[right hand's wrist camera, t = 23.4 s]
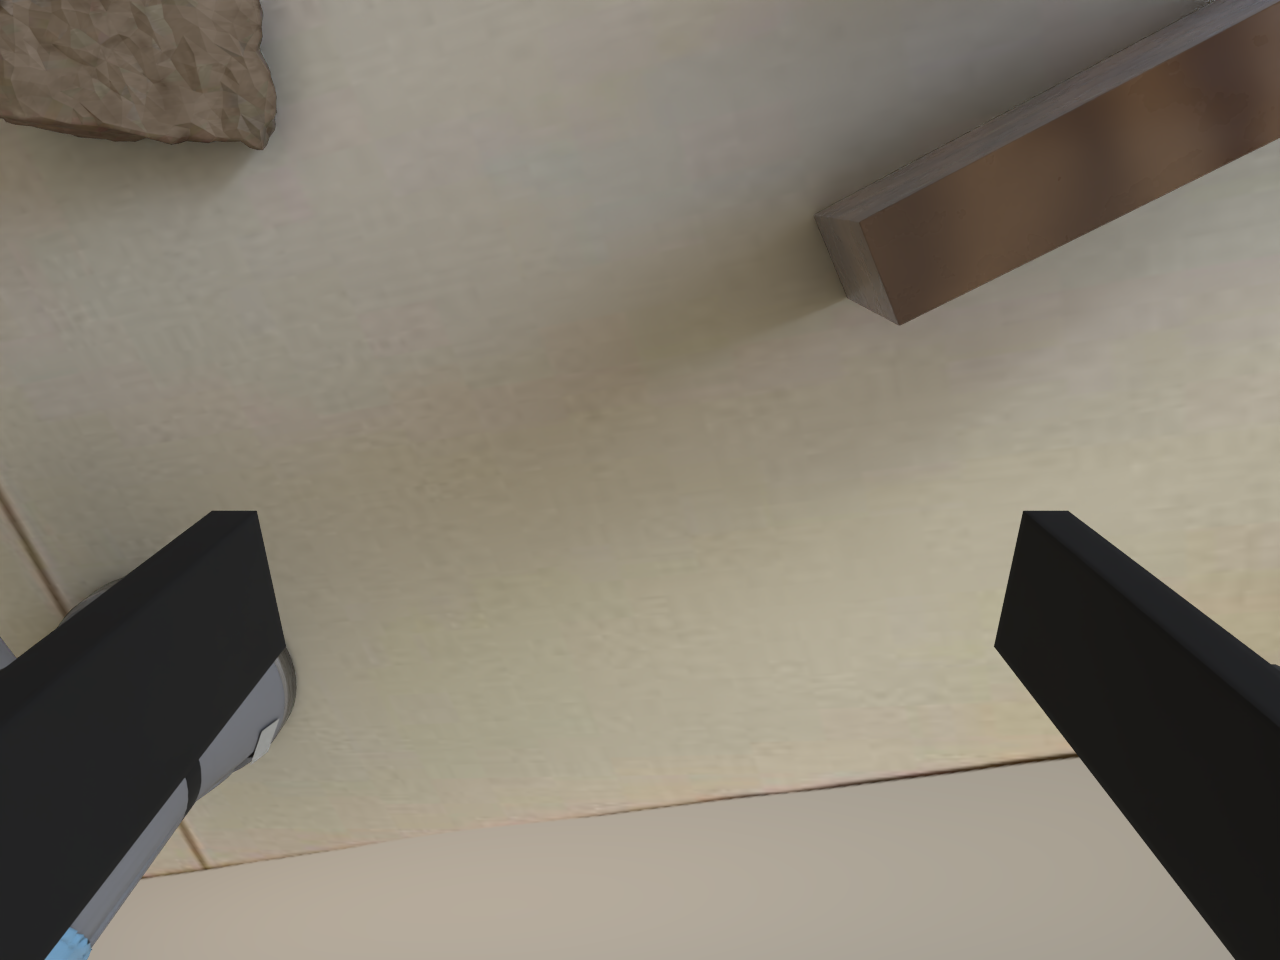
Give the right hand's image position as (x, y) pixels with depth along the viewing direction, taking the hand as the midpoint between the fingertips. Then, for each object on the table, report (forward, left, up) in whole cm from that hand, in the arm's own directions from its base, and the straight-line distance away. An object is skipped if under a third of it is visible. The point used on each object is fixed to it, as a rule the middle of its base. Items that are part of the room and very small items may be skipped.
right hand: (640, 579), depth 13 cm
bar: (+22, +9, -31) cm, 39 cm away
